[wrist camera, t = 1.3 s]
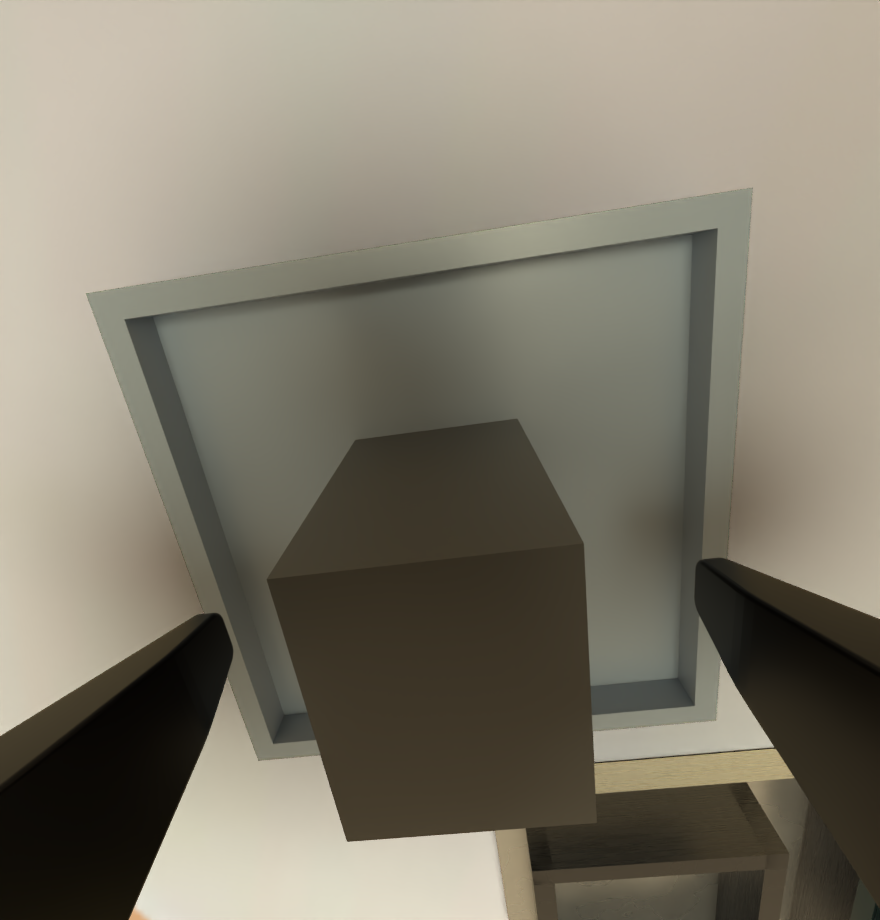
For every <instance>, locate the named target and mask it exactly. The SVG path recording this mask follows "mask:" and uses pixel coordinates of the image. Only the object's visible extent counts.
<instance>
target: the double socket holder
mask: <svg viewBox="0 0 880 920" xmlns="http://www.w3.org/2000/svg"><path fill="white" fill-rule="evenodd" d="M594 772H595V793H596V815H597V823H590V824H576V825H563V826H550V827H537V828H523V829H510V830H497V831H495V833H496V840H497V846H498V853H499V860H500V866H501V873H502V879H503V886H504V893H505V899H506V906H507V912H508V919H509V920H880V909H879V907H878V906H877V904H876V903H875V901H874V899H873V898H872V896H871V895H870V893H869V892H868V890H867V889H866V887H865V886H864V884H863V883H862V881H861V879H860V878H859V876H858V875H857V873H856V872H855V870H854V869H853V867H852V866H851V864H850V862H849V861H848V859H847V858H846V856H845V855H844V853H843V852H842V850H841V849H840V847H839V846H838V844H837V842H836V841H835V839H834V838H833V836H832V835H831V833H830V832H829V830H828V829H827V827H826V826H825V824H824V822H823V821H822V819H821V818H820V816H819V815H818V813H817V812H816V810H815V809H814V807H813V805H812V804H811V802H810V801H809V799H808V798H807V796H806V795H805V793H804V792H803V790H802V789H801V787H800V785H799V784H798V782H797V781H796V779H795V778H794V776H793V775H792V773H791V772H790V770H789V769H788V767H787V765H786V764H785V762H784V761H783V759H782V758H781V756H780V755H779V753H778V752H777V750H776V749H765V750H753V751H741V752H729V753H716V754H704V755H692V756H680V757H668V758H656V759H644V760H632V761H620V762H608V763H596V764H594Z"/></svg>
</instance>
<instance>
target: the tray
mask: <svg viewBox="0 0 880 920" xmlns="http://www.w3.org/2000/svg"><path fill="white" fill-rule="evenodd" d="M752 191H753V188H748V189H741V190H735V191H729V192H723V193H716V194H710V195H704V196H697V197H691V198H685V199H678V200H672V201H666V202H659V203H653V204H647V205H641V206H634V207H628V208H622V209H615V210H609V211H603V212H596V213H590V214H584V215H578V216H571V217H565V218H559V219H552V220H546V221H540V222H533V223H527V224H521V225H514V226H508V227H502V228H496V229H489V230H483V231H477V232H470V233H464V234H458V235H451V236H445V237H439V238H432V239H426V240H420V241H414V242H407V243H401V244H395V245H388V246H382V247H376V248H369V249H363V250H357V251H351V252H344V253H338V254H332V255H325V256H319V257H313V258H306V259H300V260H294V261H287V262H281V263H275V264H269V265H262V266H256V267H250V268H243V269H237V270H231V271H224V272H218V273H212V274H205V275H199V276H193V277H187V278H180V279H174V280H168V281H161V282H155V283H149V284H142V285H136V286H130V287H124V288H117V289H111V290H105V291H98V292H92V293H86V295H87V298H88V300H89V303H90V306H91V308H92V311H93V314H94V317H95V319H96V322H97V325H98V327H99V330H100V333H101V336H102V338H103V341H104V344H105V346H106V349H107V352H108V354H109V357H110V360H111V363H112V365H113V368H114V371H115V373H116V376H117V379H118V382H119V384H120V387H121V390H122V392H123V395H124V398H125V400H126V403H127V406H128V409H129V411H130V414H131V417H132V419H133V422H134V425H135V428H136V430H137V433H138V436H139V438H140V441H141V444H142V447H143V449H144V452H145V455H146V457H147V460H148V463H149V465H150V468H151V471H152V474H153V476H154V479H155V482H156V484H157V487H158V490H159V493H160V495H161V498H162V501H163V503H164V506H165V509H166V511H167V514H168V517H169V520H170V522H171V525H172V528H173V530H174V533H175V536H176V539H177V541H178V544H179V547H180V549H181V552H182V555H183V558H184V560H185V563H186V566H187V568H188V571H189V574H190V576H191V579H192V582H193V585H194V587H195V590H196V593H197V595H198V598H199V601H200V604H201V606H202V609H203V612H204V614H207V613H218V614H220V615H221V616H222V618H223V620H224V622H225V625H226V628H227V631H228V634H229V636H230V639H231V642H232V645H233V660H232V663H231V666H230V669H229V672H228V676H227V677H228V679H229V682H230V685H231V687H232V690H233V693H234V696H235V698H236V701H237V704H238V706H239V709H240V712H241V715H242V717H243V720H244V723H245V725H246V728H247V731H248V733H249V736H250V739H251V742H252V744H253V747H254V750H255V752H256V755H257V758H258V761H260V760H271V759H282V758H294V757H305V756H317V755H320V752H319V748H318V745H317V742H316V739H315V736H314V732H313V729H312V726H311V723H310V719H309V716H308V713H307V710H306V706H305V703H304V700H303V697H302V693H301V690H300V687H299V684H298V680H297V677H296V674H295V671H294V667H293V664H292V661H291V658H290V654H289V651H288V648H287V645H286V641H285V638H284V635H283V632H282V628H281V625H280V622H279V619H278V615H277V612H276V609H275V606H274V602H273V599H272V596H271V593H270V589H269V586H268V583H267V580H266V579H267V578H268V576H269V575H270V573H271V571H272V570H273V568H274V567H275V565H276V564H277V562H278V560H279V559H280V557H281V556H282V554H283V553H284V551H285V549H286V548H287V546H288V545H289V543H290V542H291V540H292V538H293V537H294V535H295V534H296V532H297V531H298V529H299V527H300V526H301V524H302V523H303V521H304V520H305V518H306V516H307V515H308V513H309V512H310V510H311V509H312V507H313V505H314V504H315V502H316V501H317V499H318V498H319V496H320V494H321V493H322V491H323V490H324V488H325V487H326V485H327V483H328V482H329V480H330V479H331V477H332V476H333V474H334V472H335V471H336V469H337V468H338V466H339V465H340V463H341V461H342V460H343V458H344V457H345V455H346V454H347V452H348V451H349V449H350V447H351V446H352V444H353V443H354V441H355V440H358V439H366V438H374V437H381V436H389V435H396V434H404V433H412V432H419V431H427V430H434V429H442V428H449V427H457V426H465V425H472V424H480V423H487V422H495V421H503V420H510V419H518V420H519V422H520V424H521V426H522V428H523V430H524V432H525V434H526V435H527V437H528V439H529V441H530V443H531V445H532V447H533V449H534V450H535V452H536V454H537V456H538V458H539V460H540V462H541V464H542V466H543V467H544V469H545V471H546V473H547V475H548V477H549V479H550V481H551V482H552V484H553V486H554V488H555V490H556V492H557V494H558V496H559V497H560V499H561V501H562V503H563V505H564V507H565V509H566V511H567V512H568V514H569V516H570V518H571V520H572V522H573V524H574V526H575V527H576V529H577V531H578V533H579V535H580V537H581V539H582V541H583V542H584V555H585V576H586V598H587V620H588V641H589V663H590V685H591V706H592V728H593V731H602V730H613V729H625V728H636V727H647V726H659V725H670V724H682V723H693V722H704V721H716V714H717V699H718V685H719V670H720V655H719V653H718V651H717V649H716V647H715V645H714V643H713V641H712V639H711V637H710V636H709V634H708V632H707V630H706V628H705V626H704V624H703V622H702V620H701V618H700V616H699V614H698V612H697V609H696V606H695V602H694V588H695V567H696V564H697V562H698V561H699V560H701V559H709V558H718V557H721V558H725V559H727V554H728V540H729V525H730V511H731V496H732V482H733V467H734V452H735V438H736V423H737V409H738V394H739V380H740V365H741V351H742V336H743V322H744V307H745V293H746V278H747V264H748V249H749V235H750V220H751V205H752Z"/></svg>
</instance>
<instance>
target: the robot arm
mask: <svg viewBox="0 0 880 920" xmlns="http://www.w3.org/2000/svg"><path fill="white" fill-rule="evenodd" d="M694 602H695V606H696V609H697V612H698V614H699V616H700V618H701V620H702V622H703V624H704V626H705V628H706V630H707V632H708V634H709V636H710V637H711V639H712V641H713V643H714V645H715V647H716V649H717V651H718V653H719V655H720V657H721V659H722V661H723V663H724V665H725V667H726V669H727V671H728V673H729V675H730V677H731V678H732V680H733V682H734V684H735V686H736V688H737V689H738V691H739V693H740V694H741V696H742V697H743V699H744V701H745V702H746V704H747V705H748V707H749V708H750V710H751V712H752V713H753V715H754V716H755V718H756V719H757V721H758V722H759V724H760V725H761V727H762V728H763V730H764V732H765V733H766V735H767V736H768V738H769V739H770V741H771V742H772V744H773V745H774V747H775V748H776V750H777V752H778V753H779V755H780V756H781V758H782V759H783V761H784V762H785V764H786V765H787V767H788V769H789V770H790V772H791V773H792V775H793V776H794V778H795V779H796V781H797V782H798V784H799V785H800V787H801V789H802V790H803V792H804V793H805V795H806V796H807V798H808V799H809V801H810V802H811V804H812V805H813V807H814V809H815V810H816V812H817V813H818V815H819V816H820V818H821V819H822V821H823V822H824V824H825V826H826V827H827V829H828V830H829V832H830V833H831V835H832V836H833V838H834V839H835V841H836V842H837V844H838V846H839V847H840V849H841V850H842V852H843V853H844V855H845V856H846V858H847V859H848V861H849V862H850V864H851V866H852V867H853V869H854V870H855V872H856V873H857V875H858V876H859V878H860V879H861V881H862V883H863V884H864V886H865V887H866V889H867V890H868V892H869V893H870V895H871V896H872V898H873V899H874V901H875V903H876V904H877V906H878V907H879V909H880V619H878V618H875V617H873V616H870V615H868V614H865V613H863V612H860V611H858V610H855V609H853V608H850V607H847V606H845V605H842V604H840V603H837V602H835V601H832V600H830V599H827V598H824V597H822V596H819V595H817V594H814V593H812V592H809V591H807V590H804V589H801V588H799V587H796V586H794V585H791V584H789V583H786V582H784V581H781V580H779V579H776V578H773V577H771V576H768V575H766V574H763V573H761V572H758V571H756V570H753V569H751V568H748V567H745V566H743V565H740V564H738V563H735V562H733V561H730V560H728V559H725V558H721V557H718V558H709V559H701V560H699V561H698V562H697V564H696V567H695V588H694ZM232 660H233V645H232V642H231V639H230V636H229V634H228V631H227V628H226V625H225V622H224V620H223V618H222V616H221V615H220V614H218V613H207V614H199V615H196V616H194V617H192V618H191V619H189V620H187V621H186V622H184V623H183V624H181V625H179V626H178V627H176V628H175V629H173V630H171V631H170V632H168V633H166V634H165V635H163V636H162V637H160V638H158V639H157V640H155V641H153V642H152V643H150V644H149V645H147V646H145V647H144V648H142V649H141V650H139V651H137V652H136V653H134V654H132V655H131V656H129V657H128V658H126V659H124V660H123V661H121V662H119V663H118V664H116V665H115V666H113V667H111V668H110V669H108V670H107V671H105V672H103V673H102V674H100V675H98V676H97V677H95V678H94V679H92V680H90V681H89V682H87V683H86V684H84V685H82V686H81V687H79V688H77V689H76V690H74V691H73V692H71V693H69V694H68V695H66V696H64V697H63V698H61V699H60V700H58V701H56V702H55V703H53V704H52V705H50V706H48V707H47V708H45V709H43V710H42V711H40V712H39V713H37V714H35V715H34V716H32V717H30V718H29V719H27V720H26V721H24V722H22V723H21V724H19V725H18V726H16V727H14V728H13V729H11V730H9V731H8V732H6V733H5V734H3V735H1V736H0V920H129V918H130V916H131V913H132V911H133V909H134V907H135V904H136V902H137V900H138V897H139V895H140V893H141V890H142V888H143V886H144V883H145V881H146V879H147V876H148V874H149V872H150V869H151V867H152V865H153V862H154V860H155V858H156V856H157V853H158V851H159V849H160V846H161V844H162V842H163V839H164V837H165V835H166V832H167V830H168V828H169V825H170V823H171V821H172V818H173V816H174V814H175V811H176V809H177V807H178V804H179V802H180V800H181V798H182V795H183V793H184V791H185V788H186V786H187V784H188V781H189V779H190V777H191V774H192V772H193V770H194V767H195V765H196V763H197V760H198V758H199V756H200V753H201V751H202V749H203V746H204V744H205V741H206V739H207V736H208V733H209V731H210V728H211V725H212V722H213V719H214V716H215V713H216V710H217V707H218V703H219V700H220V697H221V694H222V691H223V688H224V685H225V682H226V679H227V676H228V672H229V669H230V666H231V663H232Z"/></svg>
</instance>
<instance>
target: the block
mask: <svg viewBox="0 0 880 920" xmlns="http://www.w3.org/2000/svg"><path fill="white" fill-rule="evenodd" d="M266 580H267V583H268V586H269V589H270V593H271V596H272V599H273V602H274V606H275V609H276V612H277V615H278V619H279V622H280V625H281V628H282V632H283V635H284V638H285V641H286V645H287V648H288V651H289V654H290V658H291V661H292V664H293V667H294V671H295V674H296V677H297V680H298V684H299V687H300V690H301V693H302V697H303V700H304V703H305V706H306V710H307V713H308V716H309V719H310V723H311V726H312V729H313V732H314V736H315V739H316V742H317V745H318V748H319V752H320V755H321V758H322V761H323V765H324V768H325V771H326V774H327V778H328V781H329V784H330V787H331V791H332V794H333V797H334V800H335V804H336V807H337V810H338V813H339V817H340V820H341V823H342V826H343V830H344V833H345V836H346V839H347V842H350V841H363V840H377V839H390V838H403V837H417V836H430V835H443V834H457V833H470V832H483V831H497V830H510V829H523V828H537V827H550V826H563V825H576V824H590V823H597V815H596V793H595V772H594V750H593V728H592V706H591V685H590V663H589V641H588V620H587V598H586V576H585V555H584V542H583V541H582V539H581V537H580V535H579V533H578V531H577V529H576V527H575V526H574V524H573V522H572V520H571V518H570V516H569V514H568V512H567V511H566V509H565V507H564V505H563V503H562V501H561V499H560V497H559V496H558V494H557V492H556V490H555V488H554V486H553V484H552V482H551V481H550V479H549V477H548V475H547V473H546V471H545V469H544V467H543V466H542V464H541V462H540V460H539V458H538V456H537V454H536V452H535V450H534V449H533V447H532V445H531V443H530V441H529V439H528V437H527V435H526V434H525V432H524V430H523V428H522V426H521V424H520V422H519V420H518V419H510V420H503V421H495V422H487V423H480V424H472V425H465V426H457V427H449V428H442V429H434V430H427V431H419V432H412V433H404V434H396V435H389V436H381V437H374V438H366V439H358V440H355V441H354V443H353V444H352V446H351V447H350V449H349V451H348V452H347V454H346V455H345V457H344V458H343V460H342V461H341V463H340V465H339V466H338V468H337V469H336V471H335V472H334V474H333V476H332V477H331V479H330V480H329V482H328V483H327V485H326V487H325V488H324V490H323V491H322V493H321V494H320V496H319V498H318V499H317V501H316V502H315V504H314V505H313V507H312V509H311V510H310V512H309V513H308V515H307V516H306V518H305V520H304V521H303V523H302V524H301V526H300V527H299V529H298V531H297V532H296V534H295V535H294V537H293V538H292V540H291V542H290V543H289V545H288V546H287V548H286V549H285V551H284V553H283V554H282V556H281V557H280V559H279V560H278V562H277V564H276V565H275V567H274V568H273V570H272V571H271V573H270V575H269V576H268V578H267V579H266Z"/></svg>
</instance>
